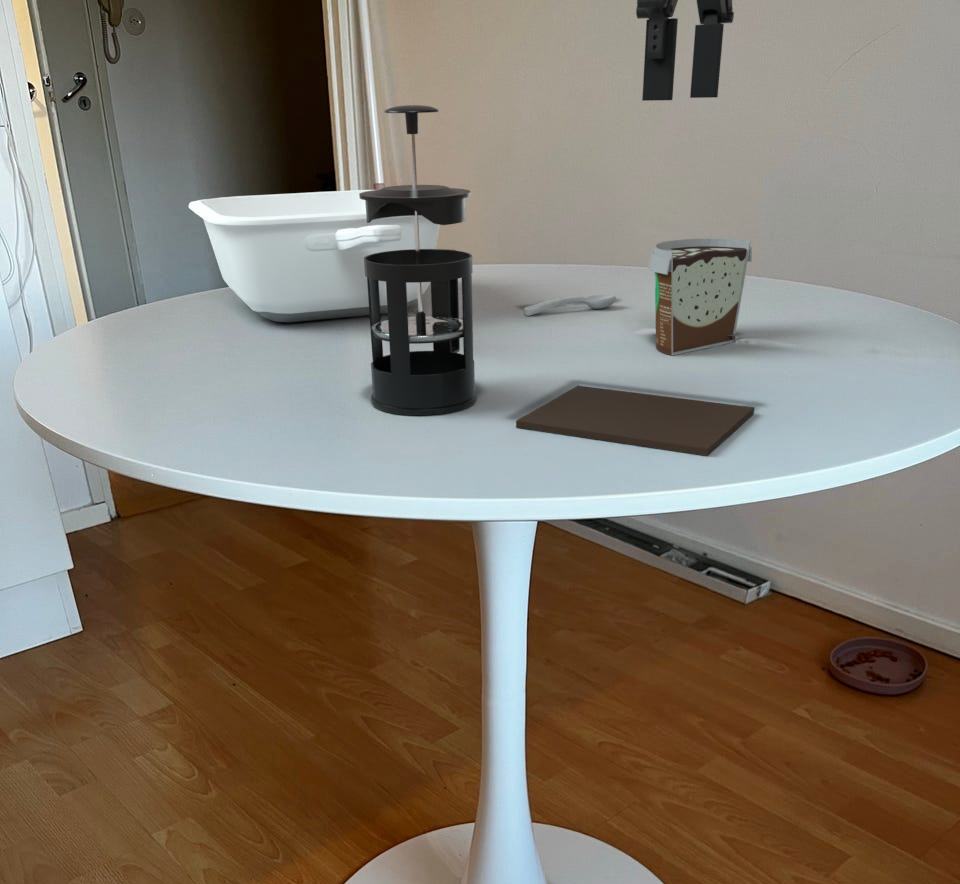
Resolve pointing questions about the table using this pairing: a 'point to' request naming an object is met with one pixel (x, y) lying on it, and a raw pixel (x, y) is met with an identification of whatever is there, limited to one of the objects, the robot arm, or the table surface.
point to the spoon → (591, 301)
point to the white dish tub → (306, 251)
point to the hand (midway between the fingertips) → (681, 99)
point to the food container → (698, 292)
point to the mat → (638, 419)
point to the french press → (420, 301)
